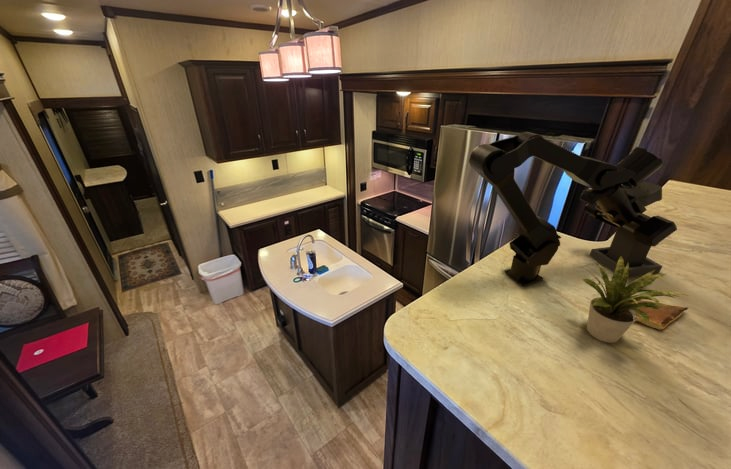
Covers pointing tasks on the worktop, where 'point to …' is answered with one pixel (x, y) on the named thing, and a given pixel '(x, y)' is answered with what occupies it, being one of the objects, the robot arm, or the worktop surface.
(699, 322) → the worktop surface
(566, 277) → the worktop surface
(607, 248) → the base pad
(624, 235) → the dark banded block
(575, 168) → the robot arm
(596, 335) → the house plant
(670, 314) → the shard
